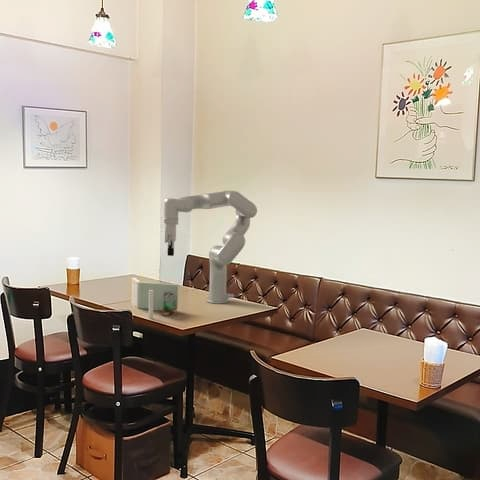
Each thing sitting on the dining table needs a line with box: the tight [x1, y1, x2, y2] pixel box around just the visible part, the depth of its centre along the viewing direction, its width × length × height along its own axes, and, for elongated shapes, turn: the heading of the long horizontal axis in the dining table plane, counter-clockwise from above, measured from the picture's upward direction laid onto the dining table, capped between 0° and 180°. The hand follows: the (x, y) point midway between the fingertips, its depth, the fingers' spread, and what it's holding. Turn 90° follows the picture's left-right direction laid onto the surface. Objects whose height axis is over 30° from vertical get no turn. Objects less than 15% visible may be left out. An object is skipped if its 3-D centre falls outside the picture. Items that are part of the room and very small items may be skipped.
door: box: [139, 281, 179, 312], centre depth 308 cm, size 3×20×14 cm, turn 79°
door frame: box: [131, 277, 154, 320], centre depth 305 cm, size 2×36×14 cm, turn 24°
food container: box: [162, 292, 176, 317], centre depth 301 cm, size 12×6×10 cm, turn 5°
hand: (170, 255), depth 318 cm, fingers closed
